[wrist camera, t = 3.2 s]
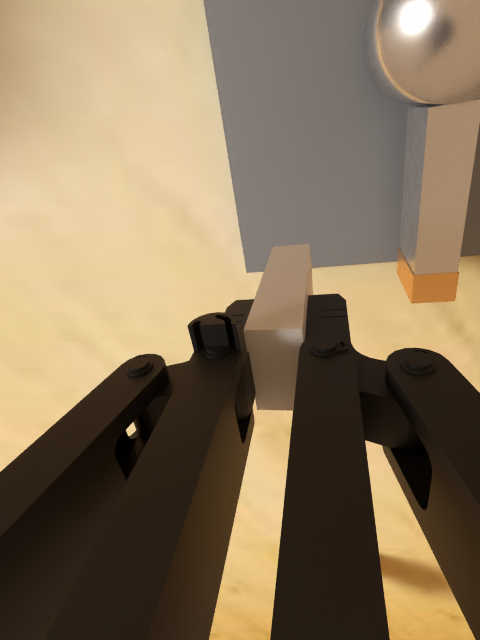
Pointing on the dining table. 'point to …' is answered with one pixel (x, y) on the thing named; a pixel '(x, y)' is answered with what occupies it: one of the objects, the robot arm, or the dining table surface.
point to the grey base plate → (312, 133)
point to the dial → (430, 129)
